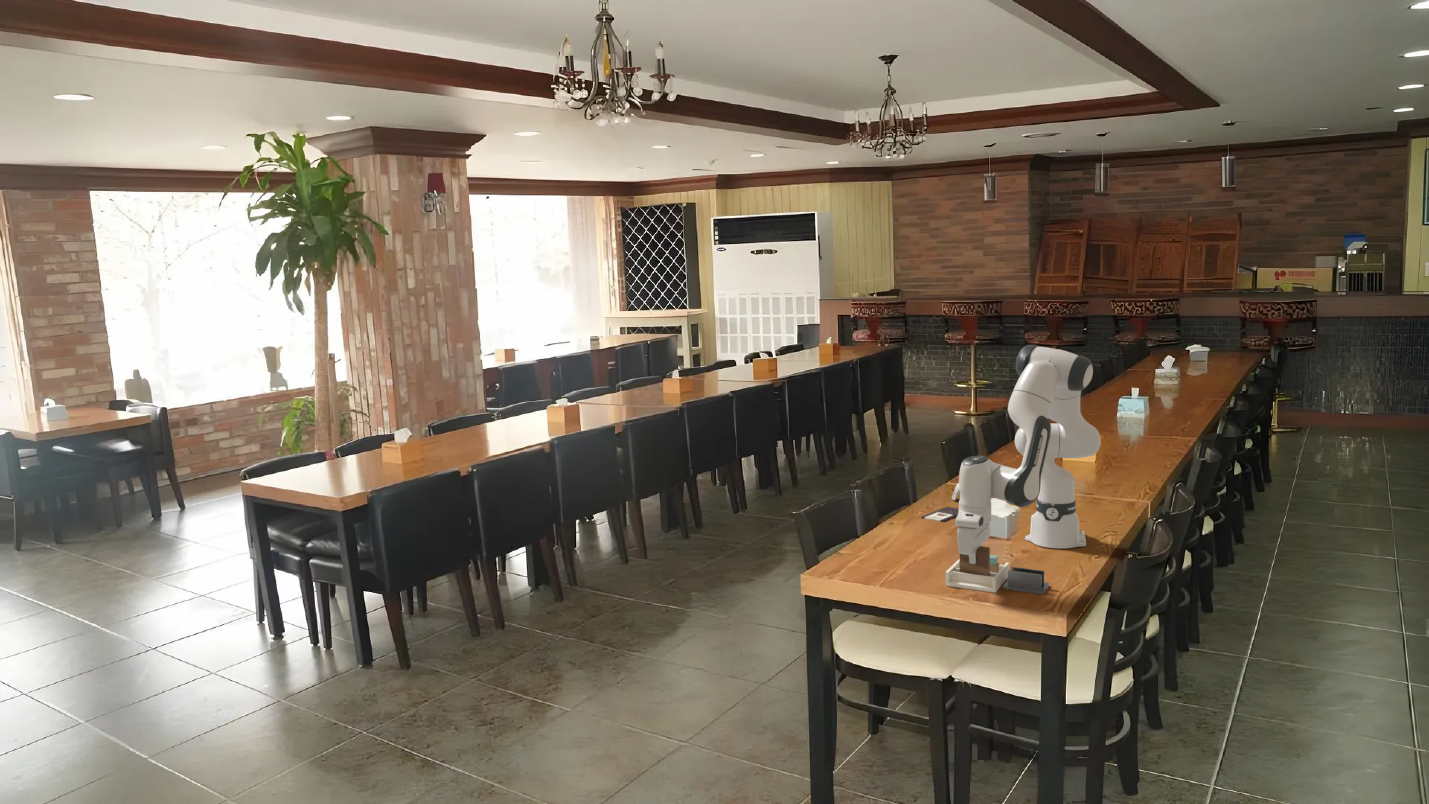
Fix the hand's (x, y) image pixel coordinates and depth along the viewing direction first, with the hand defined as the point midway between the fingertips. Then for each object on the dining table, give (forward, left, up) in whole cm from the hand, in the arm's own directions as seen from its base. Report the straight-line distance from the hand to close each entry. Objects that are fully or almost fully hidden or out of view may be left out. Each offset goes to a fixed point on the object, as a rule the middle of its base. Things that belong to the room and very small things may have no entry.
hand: (974, 561), depth 273 cm
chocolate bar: (-70, -29, -7) cm, 77 cm away
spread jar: (-92, -28, -7) cm, 97 cm away
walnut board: (0, 0, -6) cm, 6 cm away
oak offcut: (-8, 0, -6) cm, 10 cm away
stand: (-3, +13, -7) cm, 15 cm away
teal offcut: (-9, 0, -3) cm, 9 cm away
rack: (-3, 0, -7) cm, 8 cm away
